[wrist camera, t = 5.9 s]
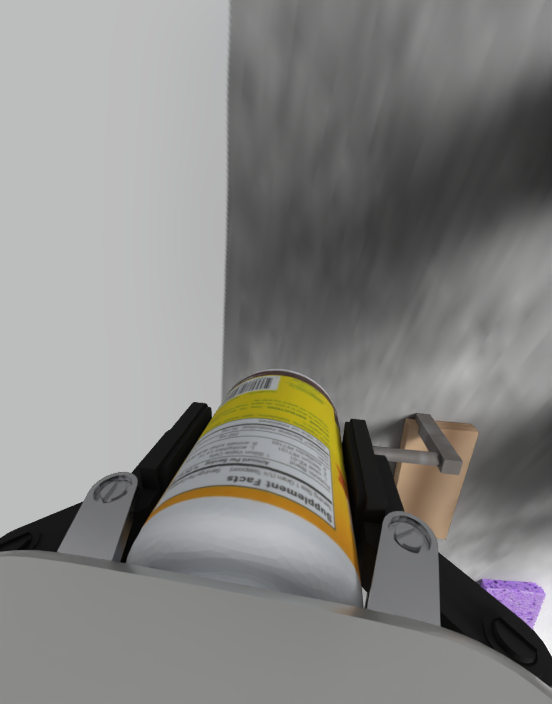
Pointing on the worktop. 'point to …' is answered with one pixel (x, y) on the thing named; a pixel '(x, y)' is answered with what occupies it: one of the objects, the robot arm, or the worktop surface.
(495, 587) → the sponges
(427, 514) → the shelf board
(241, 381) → the supplement bottle
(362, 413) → the worktop surface
